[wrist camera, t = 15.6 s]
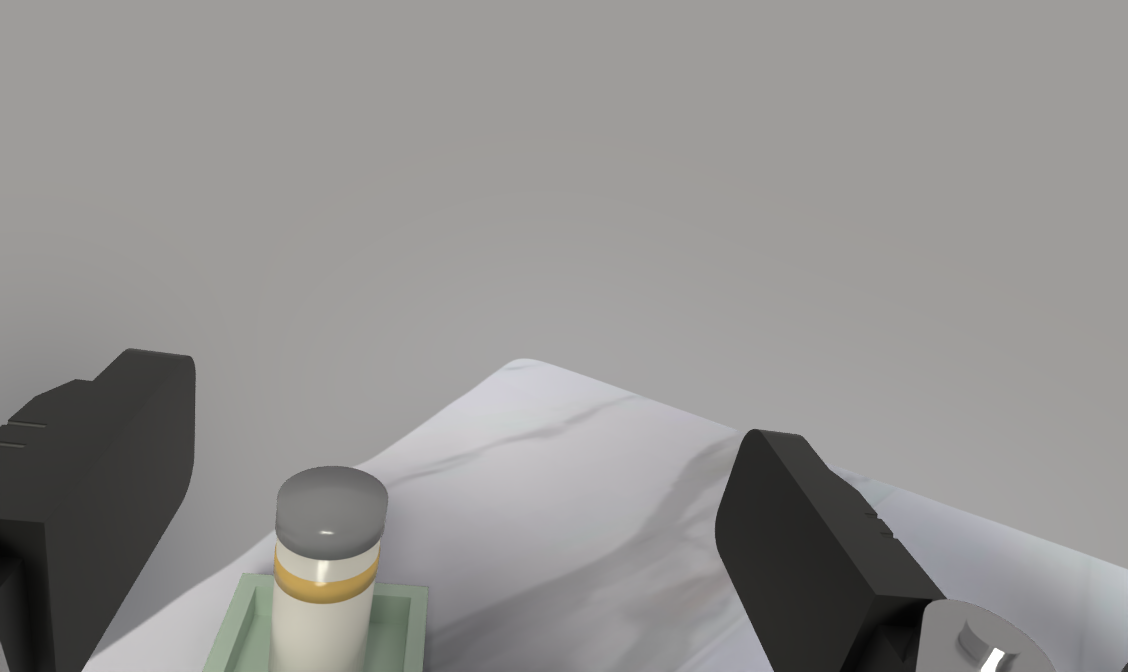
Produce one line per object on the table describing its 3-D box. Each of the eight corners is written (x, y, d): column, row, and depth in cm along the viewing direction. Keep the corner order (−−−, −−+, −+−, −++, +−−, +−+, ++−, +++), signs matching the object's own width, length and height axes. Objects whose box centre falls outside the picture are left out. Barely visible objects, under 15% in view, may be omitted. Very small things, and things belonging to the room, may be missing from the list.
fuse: (364, 679, 41) (392, 471, 35) (351, 759, 36) (382, 535, 31) (274, 675, 40) (290, 461, 34) (250, 756, 35) (264, 525, 30)
